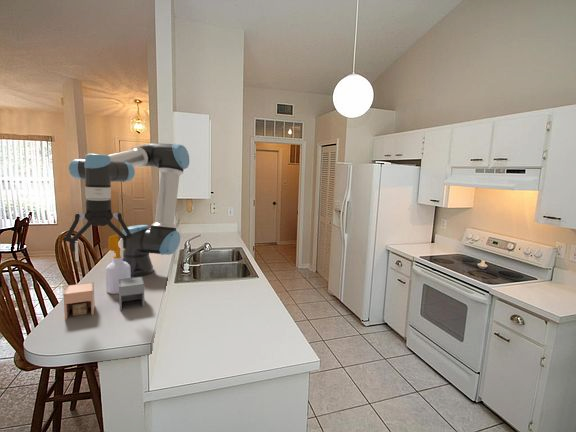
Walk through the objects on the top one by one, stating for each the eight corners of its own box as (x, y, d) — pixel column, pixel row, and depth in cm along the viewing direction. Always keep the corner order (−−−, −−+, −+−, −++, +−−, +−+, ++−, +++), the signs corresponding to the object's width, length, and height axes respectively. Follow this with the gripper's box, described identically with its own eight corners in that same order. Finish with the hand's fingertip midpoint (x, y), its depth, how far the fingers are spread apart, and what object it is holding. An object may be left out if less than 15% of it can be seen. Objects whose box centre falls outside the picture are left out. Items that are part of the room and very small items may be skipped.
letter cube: (74, 311, 110) (73, 300, 109) (87, 309, 112) (87, 298, 111) (72, 316, 106) (72, 305, 106) (86, 313, 108) (86, 303, 108)
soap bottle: (116, 296, 124) (114, 236, 120) (101, 291, 127) (99, 233, 124) (135, 288, 132) (134, 232, 128) (121, 284, 135) (120, 229, 132)
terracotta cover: (67, 309, 111) (66, 285, 109) (94, 305, 115) (93, 282, 113) (64, 319, 104) (63, 294, 102) (93, 315, 108) (92, 290, 106)
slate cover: (119, 301, 119) (118, 279, 118) (142, 298, 123) (142, 276, 122) (119, 310, 112) (119, 286, 111) (144, 306, 116) (144, 283, 115)
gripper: (52, 200, 97) (55, 265, 100) (139, 200, 110) (140, 257, 113) (54, 197, 103) (57, 259, 106) (137, 198, 116) (137, 252, 119)
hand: (100, 258), depth 109 cm, fingers open, 13 cm apart
